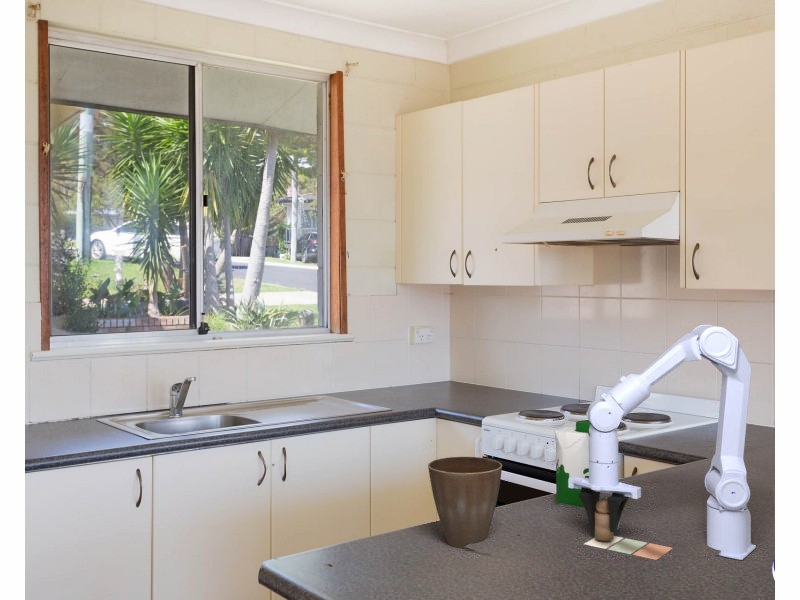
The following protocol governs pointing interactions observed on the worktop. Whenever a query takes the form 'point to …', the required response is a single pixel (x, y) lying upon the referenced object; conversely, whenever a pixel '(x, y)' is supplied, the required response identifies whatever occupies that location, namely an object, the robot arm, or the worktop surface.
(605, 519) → the pawn
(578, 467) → the milk carton
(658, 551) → the board
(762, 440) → the worktop surface
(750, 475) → the worktop surface
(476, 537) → the plant pot
